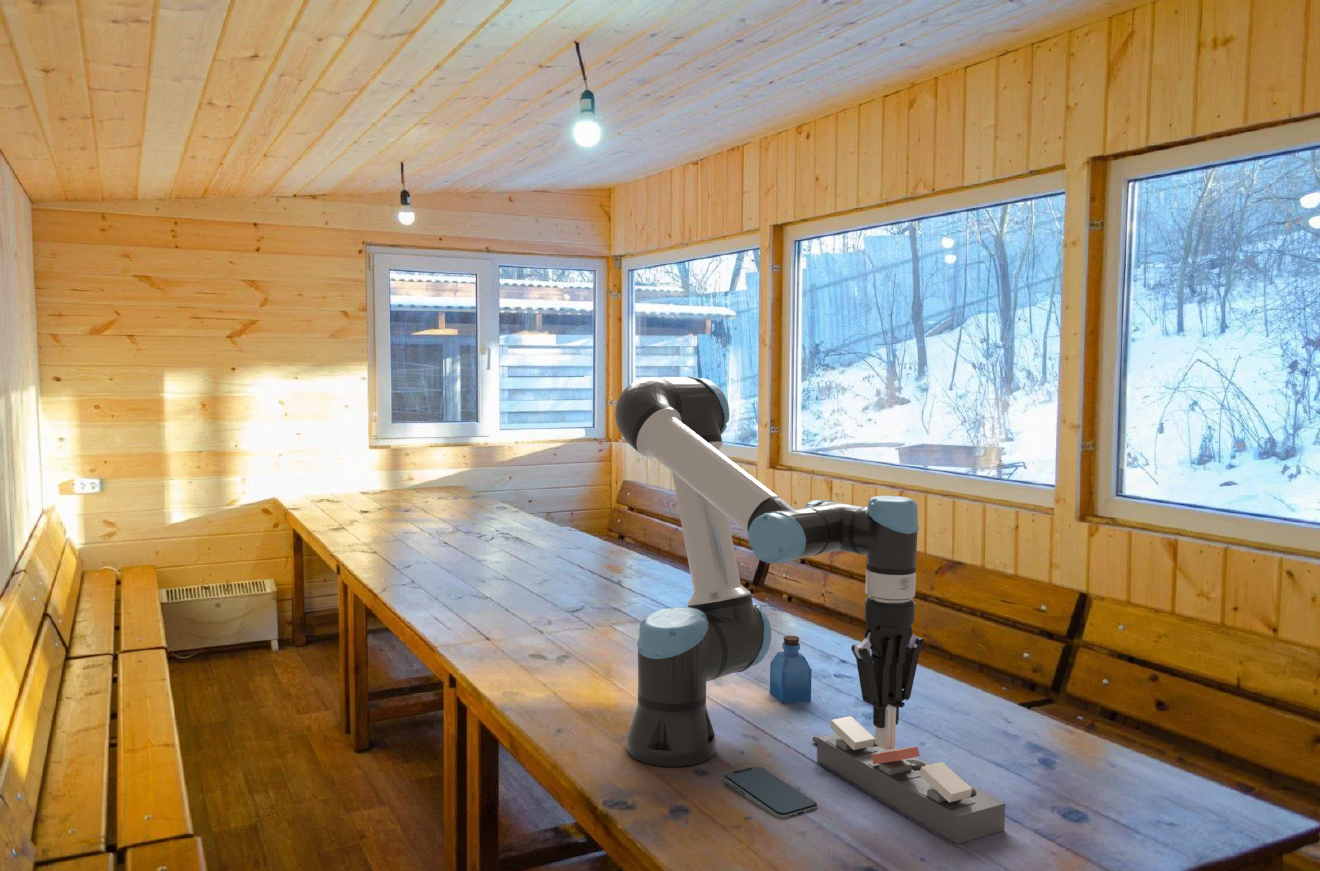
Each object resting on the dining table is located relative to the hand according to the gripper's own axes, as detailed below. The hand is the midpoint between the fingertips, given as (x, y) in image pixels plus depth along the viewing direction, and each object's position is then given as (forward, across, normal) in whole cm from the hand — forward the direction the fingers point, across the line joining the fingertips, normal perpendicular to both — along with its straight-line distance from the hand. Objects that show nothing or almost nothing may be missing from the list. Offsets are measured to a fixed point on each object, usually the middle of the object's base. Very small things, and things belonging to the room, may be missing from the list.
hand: (884, 745), depth 156 cm
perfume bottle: (+7, +12, +41) cm, 44 cm away
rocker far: (+1, 0, +8) cm, 8 cm away
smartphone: (+8, -17, +6) cm, 20 cm away
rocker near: (+1, 0, -13) cm, 13 cm away
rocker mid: (+1, 0, -3) cm, 3 cm away
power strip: (+7, +2, +1) cm, 7 cm away
